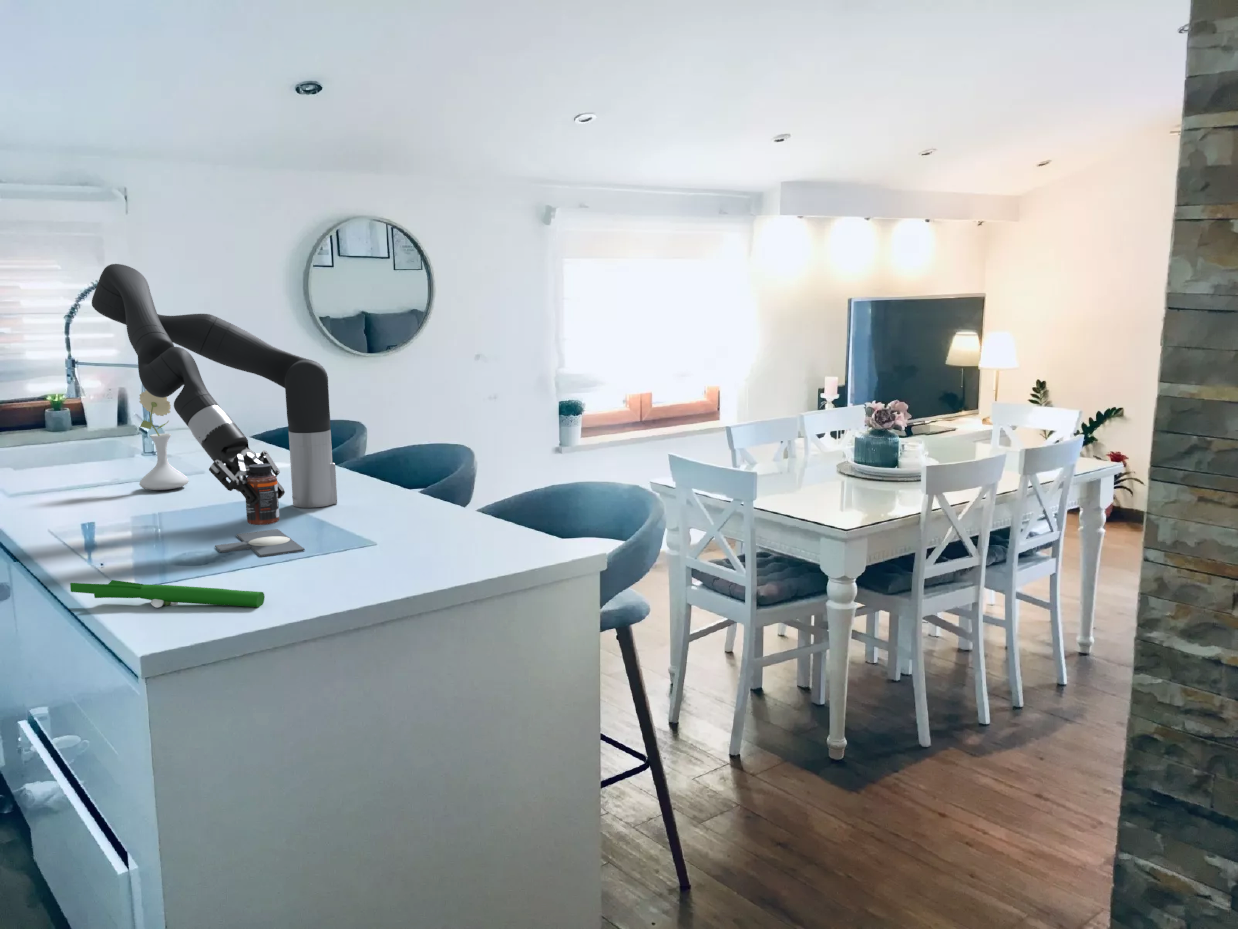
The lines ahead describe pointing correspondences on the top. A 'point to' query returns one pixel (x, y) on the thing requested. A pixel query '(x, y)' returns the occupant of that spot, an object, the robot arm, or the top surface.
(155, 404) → the flower in vase
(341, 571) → the top surface
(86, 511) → the top surface
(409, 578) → the top surface
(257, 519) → the supplement bottle
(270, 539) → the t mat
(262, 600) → the green onion
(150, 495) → the top surface
